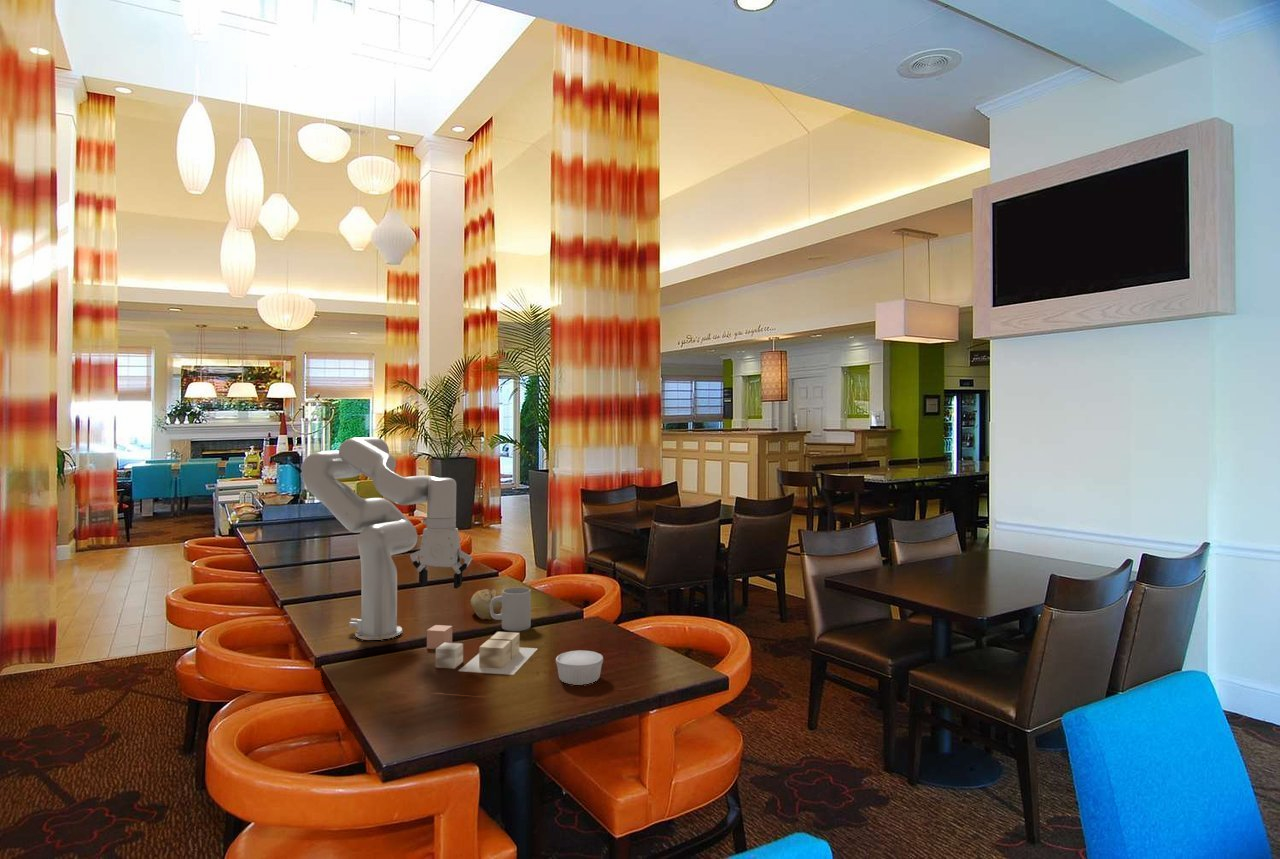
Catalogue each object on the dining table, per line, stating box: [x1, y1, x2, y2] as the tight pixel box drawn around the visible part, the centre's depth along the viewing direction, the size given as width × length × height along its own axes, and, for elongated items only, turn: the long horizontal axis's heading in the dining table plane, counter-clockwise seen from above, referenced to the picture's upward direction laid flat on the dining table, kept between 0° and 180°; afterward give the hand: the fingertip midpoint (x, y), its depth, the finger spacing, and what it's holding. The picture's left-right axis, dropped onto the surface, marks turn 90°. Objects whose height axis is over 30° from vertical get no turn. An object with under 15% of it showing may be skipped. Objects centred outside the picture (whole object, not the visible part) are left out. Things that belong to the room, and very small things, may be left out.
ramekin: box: [555, 649, 604, 686], centre depth 167 cm, size 11×11×5 cm
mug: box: [490, 586, 532, 632], centre depth 208 cm, size 12×8×11 cm
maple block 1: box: [478, 639, 511, 669], centre depth 176 cm, size 6×6×5 cm
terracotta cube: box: [426, 624, 453, 650], centre depth 191 cm, size 5×5×5 cm
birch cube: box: [435, 642, 464, 670], centre depth 175 cm, size 5×5×5 cm
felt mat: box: [458, 646, 539, 676], centre depth 180 cm, size 14×20×1 cm
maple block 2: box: [489, 631, 521, 659], centre depth 183 cm, size 6×6×5 cm
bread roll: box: [469, 588, 502, 620], centre depth 222 cm, size 10×15×8 cm, turn 25°
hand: (440, 586), depth 191 cm, fingers open, 9 cm apart
